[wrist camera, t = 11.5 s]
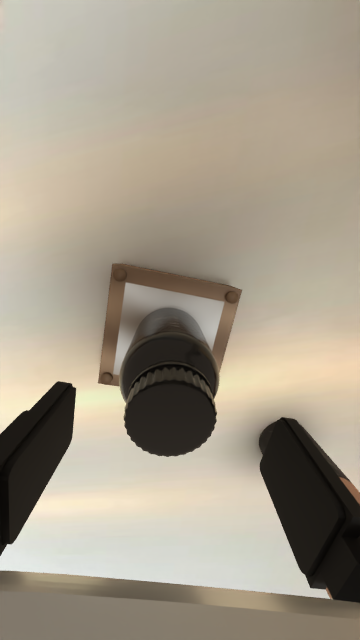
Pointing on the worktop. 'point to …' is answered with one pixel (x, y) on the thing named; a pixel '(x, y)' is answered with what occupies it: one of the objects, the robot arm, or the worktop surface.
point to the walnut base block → (155, 293)
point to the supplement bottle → (169, 384)
